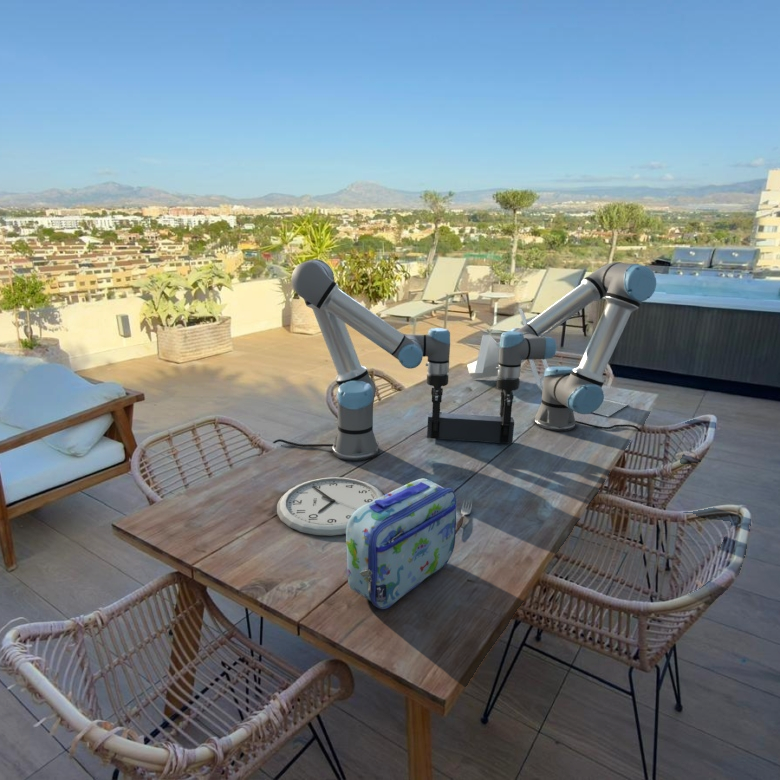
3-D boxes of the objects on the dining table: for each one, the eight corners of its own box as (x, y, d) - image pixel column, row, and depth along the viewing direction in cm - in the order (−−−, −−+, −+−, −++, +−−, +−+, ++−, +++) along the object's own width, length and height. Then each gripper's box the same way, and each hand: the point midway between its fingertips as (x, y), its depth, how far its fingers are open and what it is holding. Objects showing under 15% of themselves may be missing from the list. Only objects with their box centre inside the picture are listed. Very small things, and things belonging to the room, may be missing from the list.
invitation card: (608, 416, 214) (573, 407, 224) (608, 416, 214) (573, 407, 224) (627, 404, 229) (594, 396, 238) (627, 405, 229) (594, 397, 239)
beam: (510, 438, 188) (512, 417, 186) (512, 443, 184) (514, 422, 181) (427, 432, 192) (428, 412, 189) (427, 437, 187) (428, 416, 185)
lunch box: (375, 622, 100) (376, 527, 94) (339, 595, 108) (338, 505, 101) (459, 565, 118) (465, 481, 112) (424, 545, 125) (427, 465, 119)
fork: (449, 535, 129) (449, 528, 129) (463, 505, 144) (463, 498, 143) (459, 537, 129) (460, 530, 128) (472, 507, 143) (473, 500, 142)
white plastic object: (488, 421, 263) (468, 398, 238) (469, 347, 285) (449, 320, 260) (560, 397, 251) (547, 370, 226) (534, 322, 273) (519, 290, 248)
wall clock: (392, 527, 129) (269, 531, 127) (392, 533, 130) (269, 537, 127) (383, 473, 158) (282, 475, 155) (383, 478, 158) (283, 480, 156)
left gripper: (428, 366, 191) (426, 425, 198) (425, 379, 174) (423, 444, 181) (448, 367, 190) (446, 426, 197) (448, 380, 173) (445, 445, 180)
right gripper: (495, 369, 188) (490, 429, 195) (499, 383, 171) (494, 449, 178) (516, 370, 188) (511, 430, 195) (522, 385, 170) (516, 450, 177)
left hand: (435, 435), depth 189 cm, fingers closed on beam, 5 cm apart
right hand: (503, 439), depth 186 cm, fingers closed on beam, 5 cm apart
